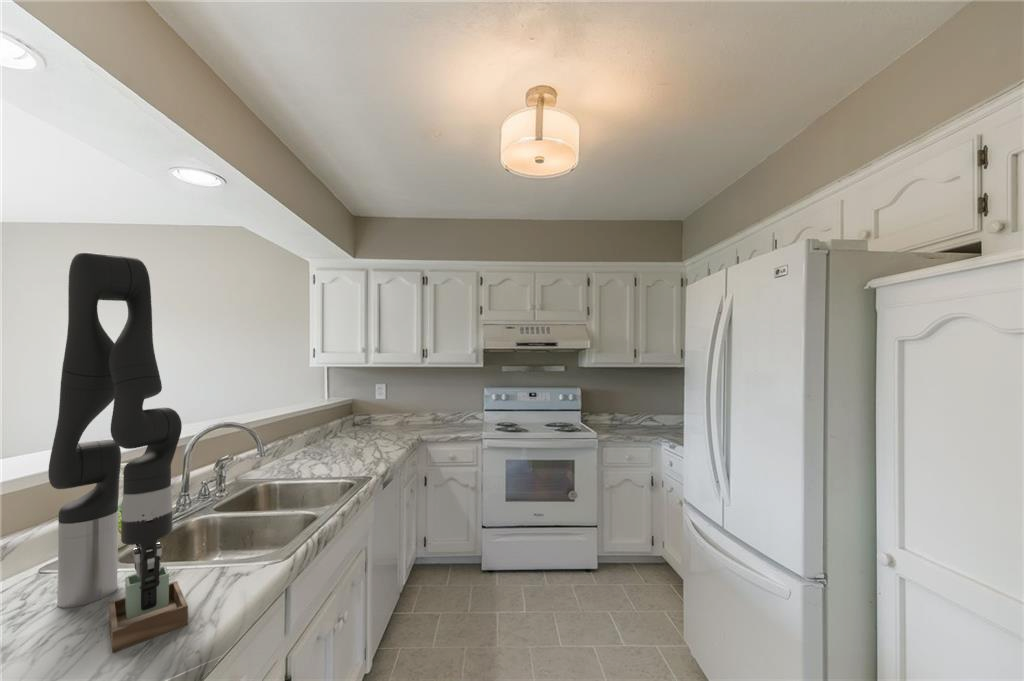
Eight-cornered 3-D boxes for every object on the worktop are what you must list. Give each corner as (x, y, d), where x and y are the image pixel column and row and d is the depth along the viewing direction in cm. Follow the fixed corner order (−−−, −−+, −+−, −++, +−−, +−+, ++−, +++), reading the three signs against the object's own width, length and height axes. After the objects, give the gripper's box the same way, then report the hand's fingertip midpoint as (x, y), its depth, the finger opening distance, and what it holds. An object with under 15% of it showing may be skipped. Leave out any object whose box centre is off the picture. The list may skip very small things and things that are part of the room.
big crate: (109, 620, 82) (109, 602, 82) (176, 597, 90) (176, 580, 90) (112, 652, 73) (112, 632, 73) (187, 624, 80) (187, 605, 80)
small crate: (125, 609, 81) (125, 577, 81) (165, 595, 85) (165, 565, 85) (126, 619, 77) (127, 586, 77) (168, 605, 81) (168, 573, 82)
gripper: (119, 509, 84) (118, 596, 83) (123, 528, 74) (122, 627, 73) (167, 499, 90) (167, 581, 89) (177, 515, 79) (177, 608, 79)
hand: (147, 601), depth 81 cm, fingers closed on small crate, 5 cm apart
